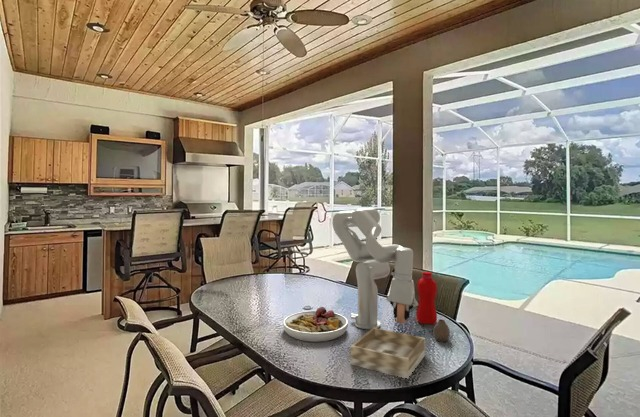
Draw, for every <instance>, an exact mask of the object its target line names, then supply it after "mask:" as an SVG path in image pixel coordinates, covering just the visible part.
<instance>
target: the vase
mask: <svg viewBox="0 0 640 417" xmlns="http://www.w3.org/2000/svg"><path fill="white" fill-rule="evenodd" d="M432 331H433V337H434V338H435V339H436V341H438V342H442V343H443V342H446V341H448V340H449V338H450V335H451V330H450V327H449V325H448V324H447V323H446V321H445V319H441V318H440V319H438V320H437V321H436V323H435V324H434V327H433V330H432Z"/></svg>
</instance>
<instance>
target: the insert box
mask: <svg viewBox="0 0 640 417" xmlns="http://www.w3.org/2000/svg"><path fill="white" fill-rule="evenodd" d="M425 356H426V338H425V337H423V336H417V335H412V334H408V333H403V332H397V331H392V330H388V329H383V328H372V329H369V330H368V331H367V332H366V333H365V334H364V335H363V336H361V337H360V338H358V340H356V341H355V342H354V343H352V344H351V345H350V365H352V366H355V367H358V368H359V367H360V368H364V369H368V370H371V371H374V370H375V372H378V371H379V373H382V374H387V375H391V376H393V375H394V376H393V377H397V376H398V378H401V377H402V378H401V379H405V378H407V379H406V380H409V378H410V377H411V376H412V374H413V373H414V371H415V370H416V369H415V368H417V367H418V366H419V365H420V363H421V361H422V360H423V359H424V357H425ZM412 372H413V373H412ZM409 376H410V377H409Z"/></svg>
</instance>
